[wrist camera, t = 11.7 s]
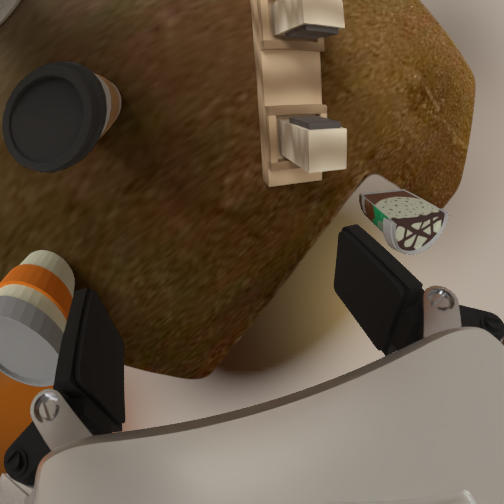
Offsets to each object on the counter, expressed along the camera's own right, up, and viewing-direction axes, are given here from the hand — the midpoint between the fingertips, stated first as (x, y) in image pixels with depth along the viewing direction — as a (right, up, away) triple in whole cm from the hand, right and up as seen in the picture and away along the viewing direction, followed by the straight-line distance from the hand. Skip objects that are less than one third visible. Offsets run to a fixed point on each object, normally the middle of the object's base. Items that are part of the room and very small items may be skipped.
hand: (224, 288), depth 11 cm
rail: (+5, +22, +19) cm, 30 cm away
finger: (+6, +15, +21) cm, 26 cm away
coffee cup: (-16, +18, +16) cm, 29 cm away
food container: (+22, +8, +33) cm, 41 cm away
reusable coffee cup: (-29, -2, +24) cm, 37 cm away
